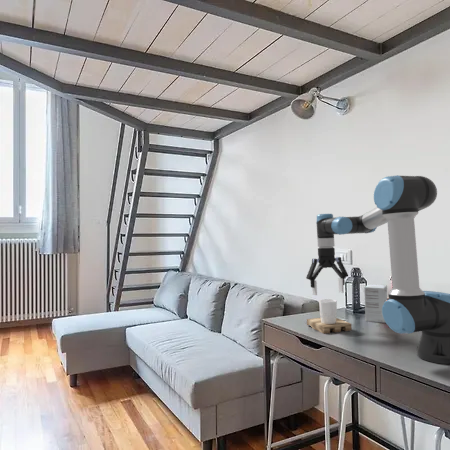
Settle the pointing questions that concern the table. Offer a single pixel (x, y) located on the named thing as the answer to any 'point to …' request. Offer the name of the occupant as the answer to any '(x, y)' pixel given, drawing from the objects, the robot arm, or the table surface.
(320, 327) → the pallet dock
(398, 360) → the table surface
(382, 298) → the supplement box
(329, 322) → the white cup
